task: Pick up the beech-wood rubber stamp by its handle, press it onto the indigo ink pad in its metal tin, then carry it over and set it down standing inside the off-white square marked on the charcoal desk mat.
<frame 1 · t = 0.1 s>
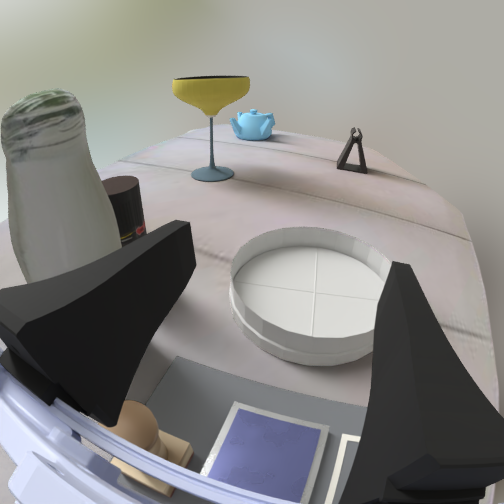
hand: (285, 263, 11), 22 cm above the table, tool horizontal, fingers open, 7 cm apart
ink pad: (265, 461, 22), resting on desk mat
cocktail glass: (212, 174, 78), on the table
stamp: (157, 464, 21), point 1 cm above the table, touching desk mat
dish: (312, 301, 41), on the table
glass bottle: (106, 345, 33), on the table
teapot: (252, 137, 113), on the table
phone stand: (351, 168, 87), on the table
desk mat: (289, 479, 21), on the table
deodorant: (135, 284, 42), on the table
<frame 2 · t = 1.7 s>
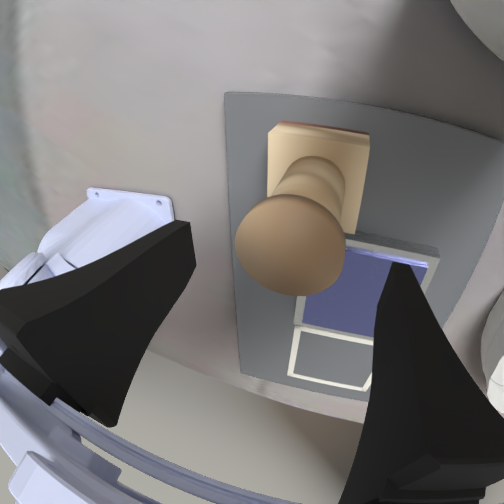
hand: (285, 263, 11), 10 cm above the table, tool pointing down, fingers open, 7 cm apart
ink pad: (361, 285, 22), resting on desk mat
stamp: (321, 165, 18), point 1 cm above the table, touching desk mat
desk mat: (342, 300, 24), on the table
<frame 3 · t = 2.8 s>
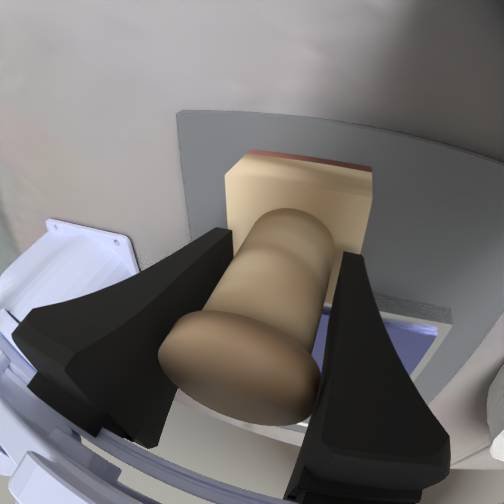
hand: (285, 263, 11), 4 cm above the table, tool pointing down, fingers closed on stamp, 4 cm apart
ink pad: (354, 344, 18), resting on desk mat
stamp: (305, 209, 14), point 1 cm above the table, touching desk mat, gripper
desk mat: (333, 355, 20), on the table
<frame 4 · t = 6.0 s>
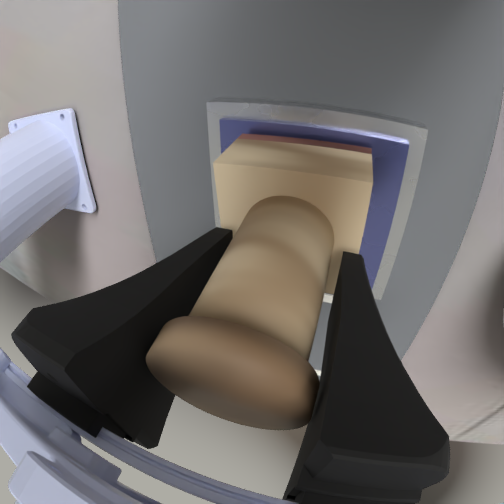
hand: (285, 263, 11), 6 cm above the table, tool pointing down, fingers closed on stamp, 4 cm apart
ink pad: (310, 196, 15), resting on desk mat
stamp: (303, 194, 13), point 2 cm above the table, touching gripper, ink pad
desk mat: (290, 229, 17), on the table
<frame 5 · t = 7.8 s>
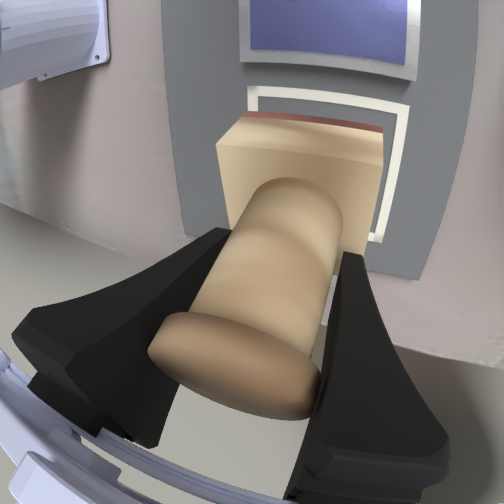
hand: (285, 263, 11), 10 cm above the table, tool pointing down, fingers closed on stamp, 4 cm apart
stamp: (311, 173, 12), point 6 cm above the table, tilted 10°, touching gripper
desk mat: (312, 30, 13), on the table
when the fingers open (5 cm above the table, at t = 9.1 s): stamp drops 1 cm, resting on desk mat.
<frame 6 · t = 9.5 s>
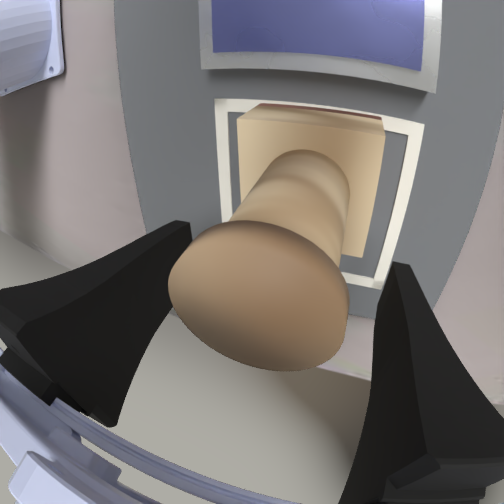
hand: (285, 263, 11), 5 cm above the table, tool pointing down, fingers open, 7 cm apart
stamp: (317, 162, 13), point 1 cm above the table, touching desk mat
desk mat: (297, 23, 10), on the table
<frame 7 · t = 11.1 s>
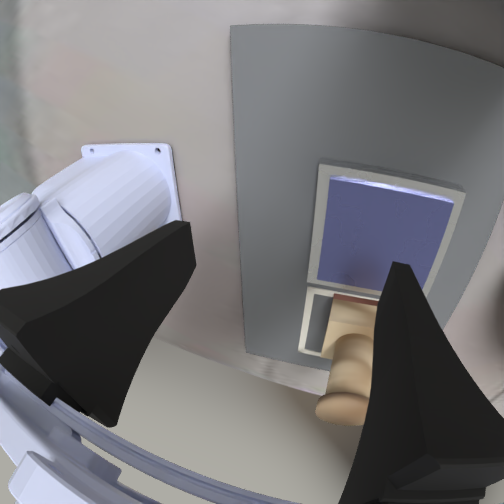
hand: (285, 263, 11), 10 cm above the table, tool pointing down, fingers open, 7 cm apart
ink pad: (381, 232, 19), resting on desk mat
stamp: (358, 319, 25), point 1 cm above the table, touching desk mat
desk mat: (360, 253, 22), on the table
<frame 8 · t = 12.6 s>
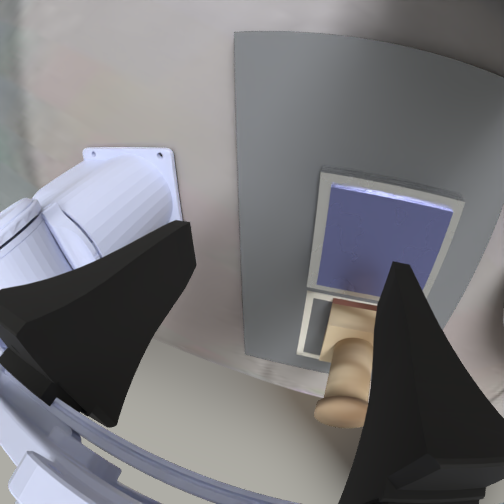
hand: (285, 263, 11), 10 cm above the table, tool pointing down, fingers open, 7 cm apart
ink pad: (380, 238, 20), resting on desk mat
stamp: (357, 323, 25), point 1 cm above the table, touching desk mat
desk mat: (359, 259, 22), on the table
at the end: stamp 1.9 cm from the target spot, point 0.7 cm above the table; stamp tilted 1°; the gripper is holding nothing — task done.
